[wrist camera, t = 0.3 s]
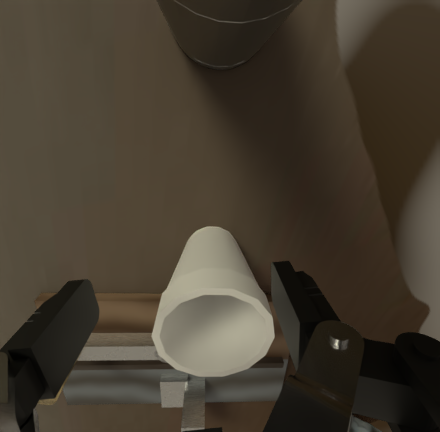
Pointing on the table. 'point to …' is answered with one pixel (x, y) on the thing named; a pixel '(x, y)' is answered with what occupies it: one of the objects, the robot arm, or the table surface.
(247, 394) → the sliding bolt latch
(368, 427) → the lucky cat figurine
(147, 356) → the swing bar
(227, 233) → the foam cup
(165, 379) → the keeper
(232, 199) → the table surface
